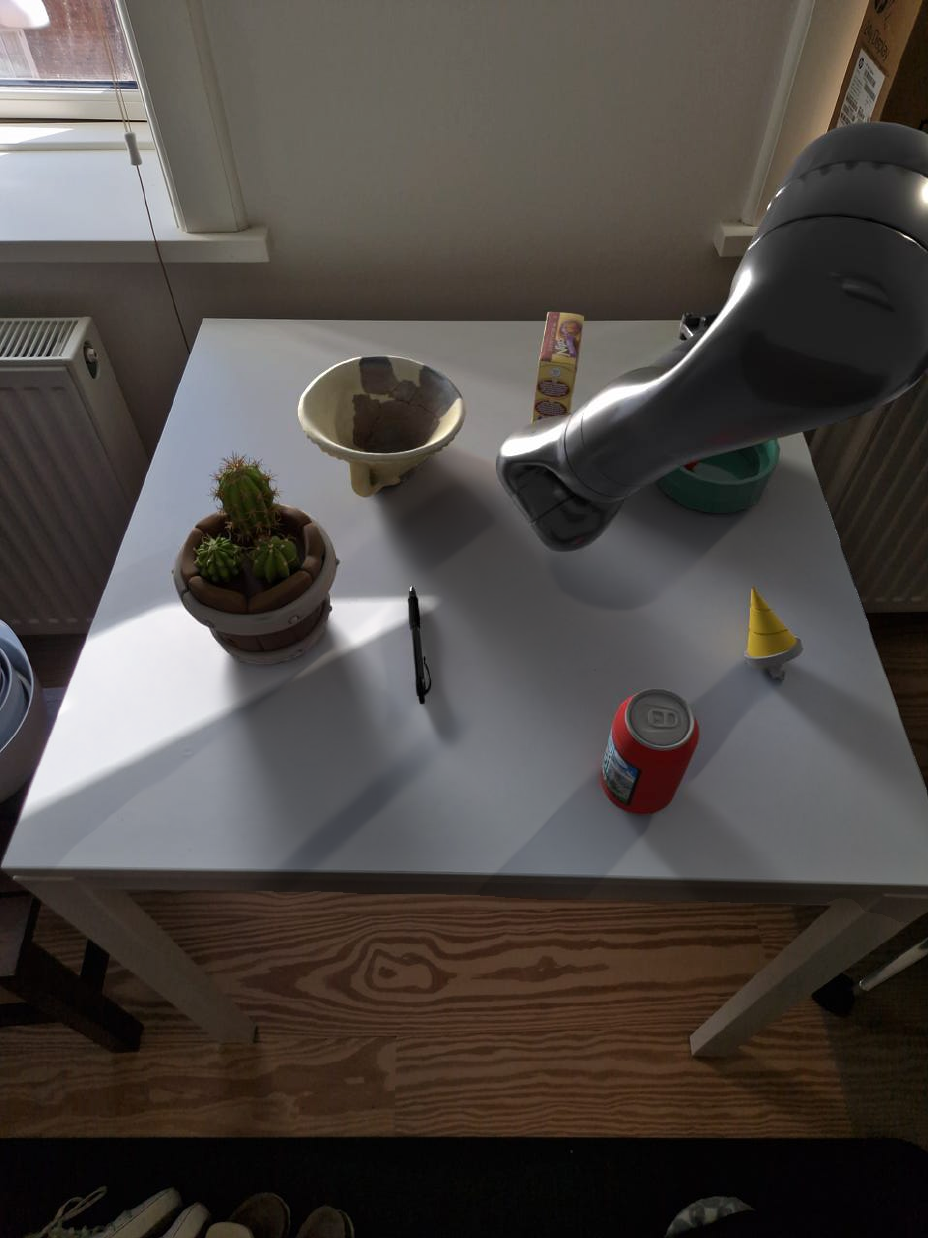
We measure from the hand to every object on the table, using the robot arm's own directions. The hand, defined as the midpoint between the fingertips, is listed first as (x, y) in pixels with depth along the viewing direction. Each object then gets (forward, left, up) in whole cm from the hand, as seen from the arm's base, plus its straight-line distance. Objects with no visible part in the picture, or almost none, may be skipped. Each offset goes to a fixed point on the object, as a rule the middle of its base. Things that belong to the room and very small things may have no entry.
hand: (795, 313), depth 81 cm
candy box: (+22, +2, -22) cm, 31 cm away
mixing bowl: (+3, +1, -22) cm, 22 cm away
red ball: (+6, +1, -20) cm, 20 cm away
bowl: (+39, +11, -22) cm, 46 cm away
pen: (+27, +34, -22) cm, 48 cm away
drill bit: (-5, +25, -22) cm, 33 cm away
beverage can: (+4, +42, -22) cm, 47 cm away
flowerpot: (+42, +36, -22) cm, 59 cm away
